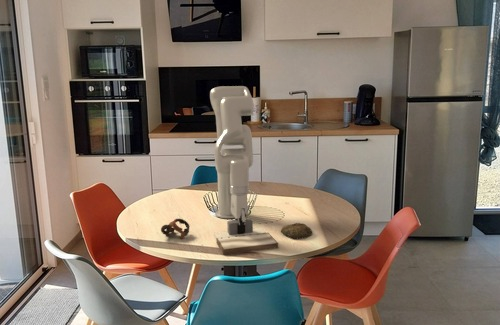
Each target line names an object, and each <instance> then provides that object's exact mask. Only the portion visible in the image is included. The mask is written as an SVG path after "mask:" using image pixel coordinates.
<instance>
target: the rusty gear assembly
mask: <svg viewBox="0 0 500 325" xmlns="http://www.w3.org/2000/svg"><path fill="white" fill-rule="evenodd" d="M177 222H179V224H180V225H181V224H182V225H185V228H184V229H183V228H182V227H181V226H179V225H177ZM160 231H161V234H163V235H164V236H165V237H168V238H169V237H170V233H175V231H176V232H177V233H180V236H179V239H180V240H183V239H184V238H185V237H187V236H188V235H189V233H190V224H189V223H188V222H187V221H186V220H185V219H182V218H175V219H174V220H173V221H170V222H169V223H168V224H164V225H162V226H161V227H160Z"/></svg>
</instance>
